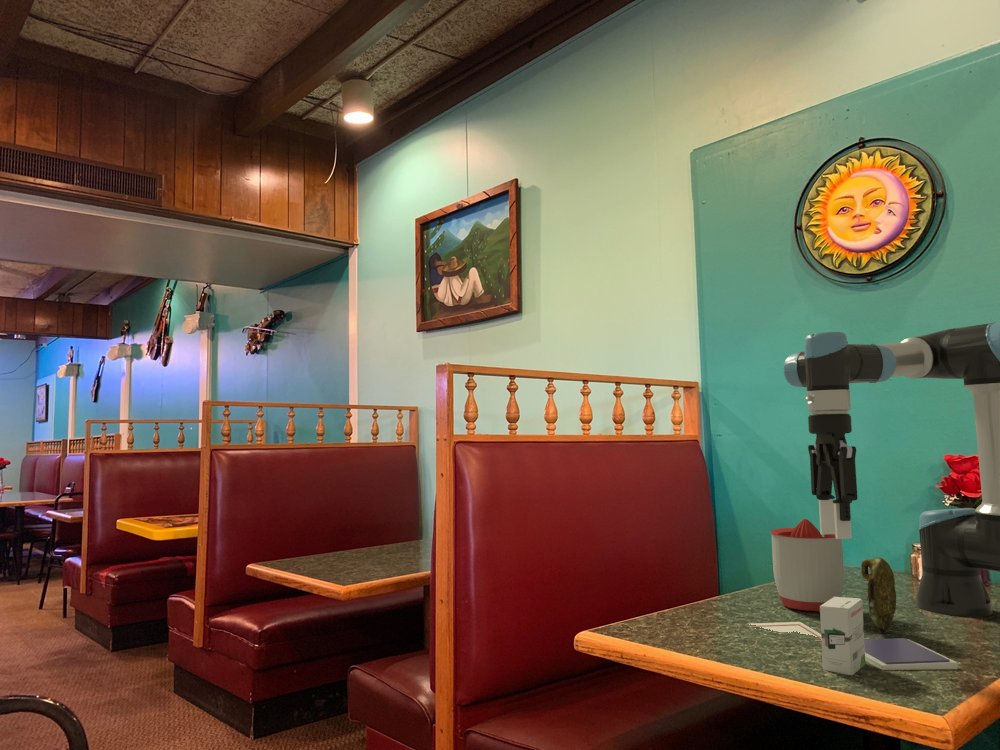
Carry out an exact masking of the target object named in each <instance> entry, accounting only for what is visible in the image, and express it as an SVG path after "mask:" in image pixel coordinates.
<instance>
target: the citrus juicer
mask: <svg viewBox="0 0 1000 750" xmlns="http://www.w3.org/2000/svg"><path fill="white" fill-rule="evenodd" d="M769 533H770V534H771V551H772V552H771V553H772V554H771V555H772V568H773V569H772V570H773V577H774V582H775V586H776V588H777V589H776V590H777V591H778V592H777V593H778V597H779V598H780V600H781V603H782V605H783V606H785V607H786V608H787V609H793V610H794V609H795V610H799V611H808V612H810V611H811V612H816V613H820V606H821V605H822V604H824V603H825V602H827V601H829V600H830V599H832V598H833V597H842V592H843V590H844V589H843V588H844V580H845V573H844V552H843V539H836V537H835V534H824V535H822V534H820V529H818V528H817V527H816V526H815V524H814V523H812V521H810V520H809V519H807V518H803V519H801V521H800V522H799V523H798V524H797V525H796V526H795V527H782V528H774V529H771V530H770V532H769Z"/></svg>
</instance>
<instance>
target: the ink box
mask: <svg viewBox="0 0 1000 750" xmlns="http://www.w3.org/2000/svg"><path fill="white" fill-rule="evenodd" d="M819 615H820V619H819V621H820V634H821V640H822V642H821V655H822V656H821V657H822V658H821V659H822V661H821V662H822V670H823V671H828V672H834V673H837V674H842V675H848V676H853V675H855V674H856V673H857V672H858V671H859V670H861V669H862V668H863V667H864V666H865V665H866V661H865V644H864V640H865V631H864V630H865V629H864V608H863V600H862V598H857V597H842V596H841V597H833V598H832V599H830V600H829V601H827V602H825V603H824V604H822V605H821V606H820V612H819Z"/></svg>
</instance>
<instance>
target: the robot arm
mask: <svg viewBox="0 0 1000 750" xmlns="http://www.w3.org/2000/svg"><path fill="white" fill-rule="evenodd" d="M782 369H783V375H784V379H785V380H786V382H787V383H788V384H789V385H791V386H793V387H795V388H806V397H805V400H806V401H807V410H808V412H809V413H811V414H809V415H808V417H807V418H808V419H807V421H808V433H810V434H811V435H816V438H815V443H814V444H808V445H807V450H808V454H809V465H810V466H809V467H810V486H811V487H810V490H811V491H810V492H811V495H812V496H815V497H816V500H818V511H819V512H818V513H819V532H820V534H821V535H822V536H824V534H835V537H836V539H842V540H847V539H849V540H850V539H851V540H852V539H853V537H852V533H853V532H852V518H851V504H852V502H853V501H858V484H857V469H856V456H857V447H856V446H854V445H853V446H852V445H851V446H849V445H848V442H847V438H846V434H850V433H852V431H853V427H852V415H851V414H850V413H849V412H848V411H851V410H852V407H851V393H850V392H851V391H850V390H851V389H850V384H859V383H861V384H862V383H869V384H873V383H874V384H876V383H881V382H882V383H883V382H886V381H887V380H890V378H895V377H906V378H908V379H912V380H913V379H914V380H916V379H942V380H943V379H944V380H945V379H946V380H957V379H958V380H959V379H960V380H963V387H964V388H965V389H966V390H968V391H969V392H971V394H972V400H973V409H974V411H973V412H974V421H975V430H976V431H975V432H976V443H977V456H978V457H977V458H978V463H979V464H978V466H979V468H978V469H979V477H980V487H981V488H980V489H981V491H980V492H981V500H982V501H981V504H979V506H977V507H976V508H972V507H964V508H963V507H961V508H944V509H942V508H941V509H932V510H925V511H923V512H921V513H920V515H919V526H918V533H919V543H920V544H919V545H920V555H921V572H922V574H921V577H920V581H919V584H918V586H917V587H918V588H917V590H916V594H915V607H917V609H919V610H922V611H926V612H930V613H933V614H940V615H946V616H953V615H955V616H954V617H956V616H957V617H965V616H966V617H967V618H968V617H970V618H974V617H975V618H976V617H977V618H980V617H981V618H982V617H989V616H992V614H993V603H992V601H991V598H990V596H989V594H988V591H987V588H986V586H985V584H984V582H983V580H982V576H981V574H982V573H981V570H985V571H991V572H997V573H1000V322H998V321H997V322H989V323H984V324H978V325H977V324H976V325H970V326H969V325H968V326H964V327H957V328H956V327H955V328H948V329H944V330H943V329H942V330H939V331H935V332H932V333H928V334H925V335H919V336H914V337H907V338H905V339H903V340H902V341H900V342H894V343H885V344H876V343H872V344H861V343H859V344H858V343H857V344H854V343H852V344H851V343H849V342H848V339H847V335H846V333H844V332H841V331H821V332H814V333H810V334H808V335H807V336H805V338H804V351H800V352H795V353H792V354H790V355H788V357H787V358H786V359H785V361H784V364H783V368H782ZM833 490H834V495H833V494H832V493H833V492H832V491H833ZM966 617H965V618H966Z"/></svg>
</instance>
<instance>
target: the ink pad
mask: <svg viewBox="0 0 1000 750" xmlns="http://www.w3.org/2000/svg"><path fill="white" fill-rule="evenodd" d="M864 644H865V662H867V663H869V664H871V665H872V666H874V667H876V668H878V669H879V670H882V671H883V670H884V671H886V670H887V671H891V670H893V671H894V670H895V671H896V670H899V671H900V670H902V671H904V670H908V671H909V670H911V671H912V670H958V669H959V668H958V667H959V666H958V661H956V660H953V659H951V658H948V656H947V657H946V656H945V655H943V654H940V653H938V652H937V651H934V650H933V649H930V648H929V647H926V646H924V645H922V644H920V643H918V642H916V641H913V640H912V639H909V638H905V637H898V638H873V639H871V638H870V639H867V638H866V639H864Z"/></svg>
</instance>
